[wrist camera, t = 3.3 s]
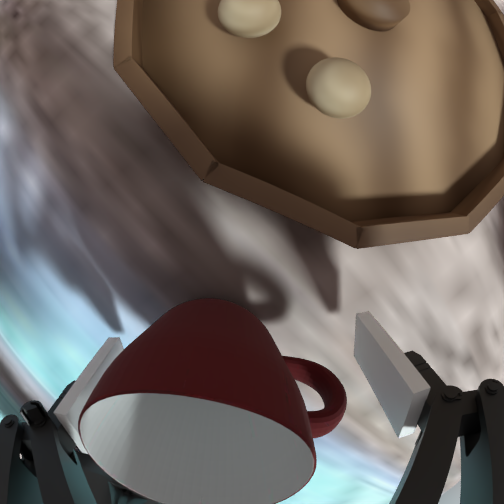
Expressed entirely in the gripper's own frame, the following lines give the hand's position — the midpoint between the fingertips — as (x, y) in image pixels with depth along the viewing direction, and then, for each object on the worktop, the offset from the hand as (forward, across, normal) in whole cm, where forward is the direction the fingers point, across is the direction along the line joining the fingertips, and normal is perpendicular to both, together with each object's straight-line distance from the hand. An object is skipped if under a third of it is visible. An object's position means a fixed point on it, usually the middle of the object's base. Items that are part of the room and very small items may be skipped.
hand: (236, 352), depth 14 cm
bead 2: (+1, +6, +12) cm, 14 cm away
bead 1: (+1, +3, +17) cm, 17 cm away
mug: (+2, 0, 0) cm, 2 cm away
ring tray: (+2, +10, +19) cm, 22 cm away
